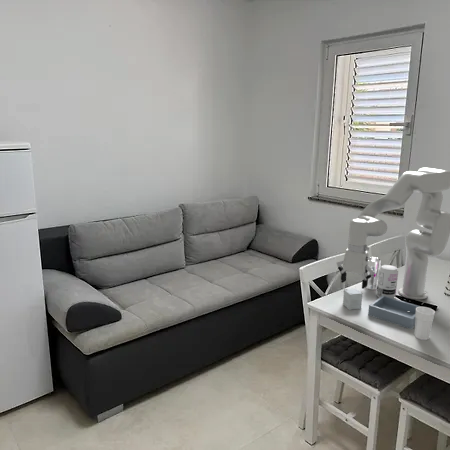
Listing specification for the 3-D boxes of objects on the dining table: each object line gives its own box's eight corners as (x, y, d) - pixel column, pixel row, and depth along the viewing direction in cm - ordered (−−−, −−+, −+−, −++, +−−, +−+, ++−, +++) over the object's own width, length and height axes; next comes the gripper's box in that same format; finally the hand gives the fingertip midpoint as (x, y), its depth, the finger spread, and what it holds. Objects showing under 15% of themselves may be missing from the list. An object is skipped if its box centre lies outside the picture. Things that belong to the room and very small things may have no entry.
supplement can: (381, 292, 200) (384, 262, 196) (398, 297, 194) (401, 267, 191) (373, 297, 195) (376, 267, 191) (390, 302, 189) (393, 271, 185)
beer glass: (366, 283, 210) (369, 255, 206) (380, 287, 206) (383, 258, 202) (361, 288, 205) (363, 259, 201) (375, 291, 201) (378, 262, 197)
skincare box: (361, 308, 183) (362, 293, 181) (348, 309, 182) (349, 294, 180) (354, 303, 189) (356, 287, 187) (342, 304, 187) (343, 288, 186)
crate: (381, 304, 187) (382, 295, 186) (423, 317, 175) (424, 307, 174) (368, 314, 177) (369, 305, 176) (411, 329, 165) (412, 319, 164)
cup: (435, 340, 157) (438, 313, 154) (419, 341, 156) (423, 315, 153) (423, 331, 163) (427, 305, 161) (408, 333, 162) (411, 307, 159)
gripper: (380, 250, 175) (376, 287, 179) (342, 241, 187) (339, 277, 191) (372, 254, 170) (368, 292, 174) (334, 245, 181) (331, 281, 186)
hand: (353, 284), depth 182 cm, fingers open, 9 cm apart
